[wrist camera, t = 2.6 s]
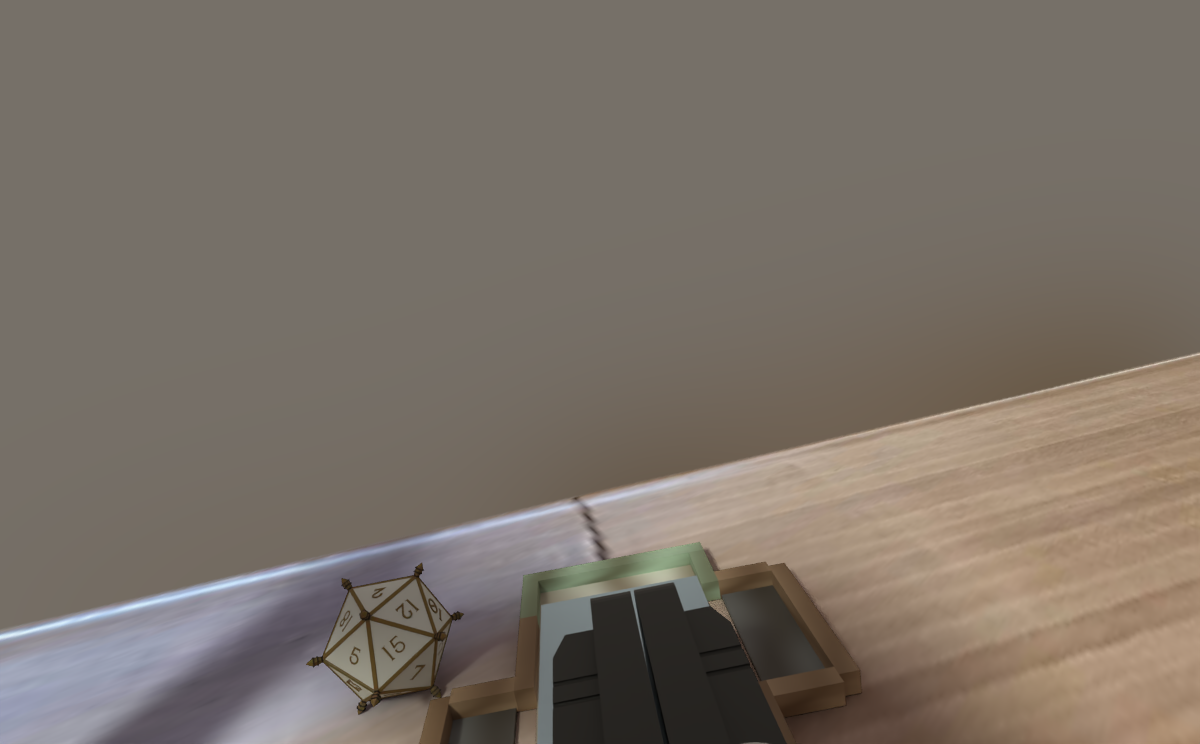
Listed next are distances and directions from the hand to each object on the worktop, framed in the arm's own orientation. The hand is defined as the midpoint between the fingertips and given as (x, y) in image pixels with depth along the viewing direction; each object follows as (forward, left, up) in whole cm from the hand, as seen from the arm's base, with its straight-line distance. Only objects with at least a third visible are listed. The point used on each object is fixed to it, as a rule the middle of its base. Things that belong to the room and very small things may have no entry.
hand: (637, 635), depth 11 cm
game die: (-15, +26, -20) cm, 36 cm away
